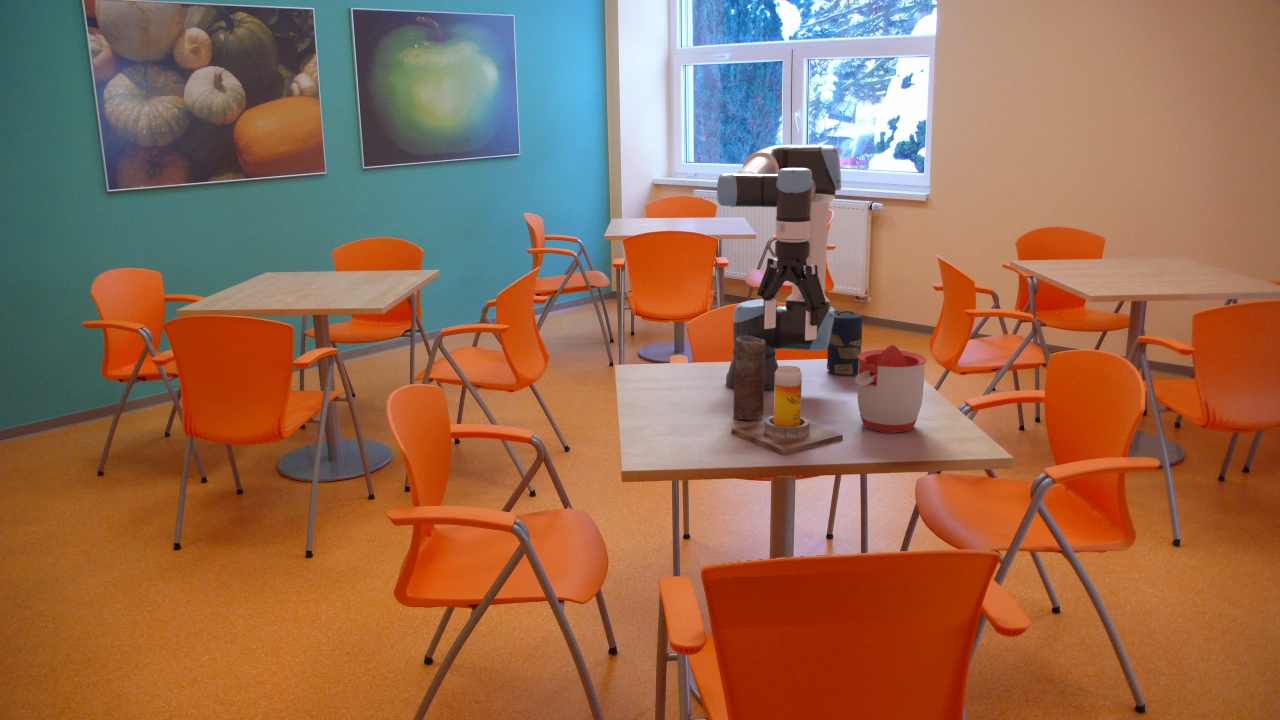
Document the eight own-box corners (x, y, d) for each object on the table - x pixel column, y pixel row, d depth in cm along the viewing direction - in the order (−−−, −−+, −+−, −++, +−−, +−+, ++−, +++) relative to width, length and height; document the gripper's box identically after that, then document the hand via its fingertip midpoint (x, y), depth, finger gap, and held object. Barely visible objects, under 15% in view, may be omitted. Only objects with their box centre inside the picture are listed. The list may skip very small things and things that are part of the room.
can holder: (731, 433, 231) (731, 418, 230) (789, 419, 241) (789, 405, 240) (783, 455, 216) (783, 439, 216) (842, 439, 226) (843, 424, 225)
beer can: (799, 436, 225) (801, 372, 221) (772, 434, 226) (774, 371, 222) (800, 428, 231) (802, 366, 227) (774, 426, 232) (775, 364, 228)
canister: (863, 376, 278) (866, 314, 273) (829, 377, 278) (832, 314, 273) (856, 368, 287) (859, 307, 282) (823, 368, 287) (826, 307, 283)
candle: (747, 411, 248) (748, 333, 243) (770, 417, 243) (772, 338, 238) (727, 417, 242) (728, 338, 237) (750, 424, 237) (752, 343, 232)
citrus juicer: (835, 423, 237) (838, 342, 232) (889, 412, 246) (894, 334, 241) (880, 442, 224) (885, 356, 219) (936, 429, 232) (942, 347, 227)
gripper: (743, 234, 225) (741, 325, 231) (819, 247, 205) (816, 346, 211) (768, 232, 229) (766, 321, 235) (845, 244, 209) (841, 342, 215)
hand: (789, 333), depth 223 cm, fingers open, 13 cm apart
